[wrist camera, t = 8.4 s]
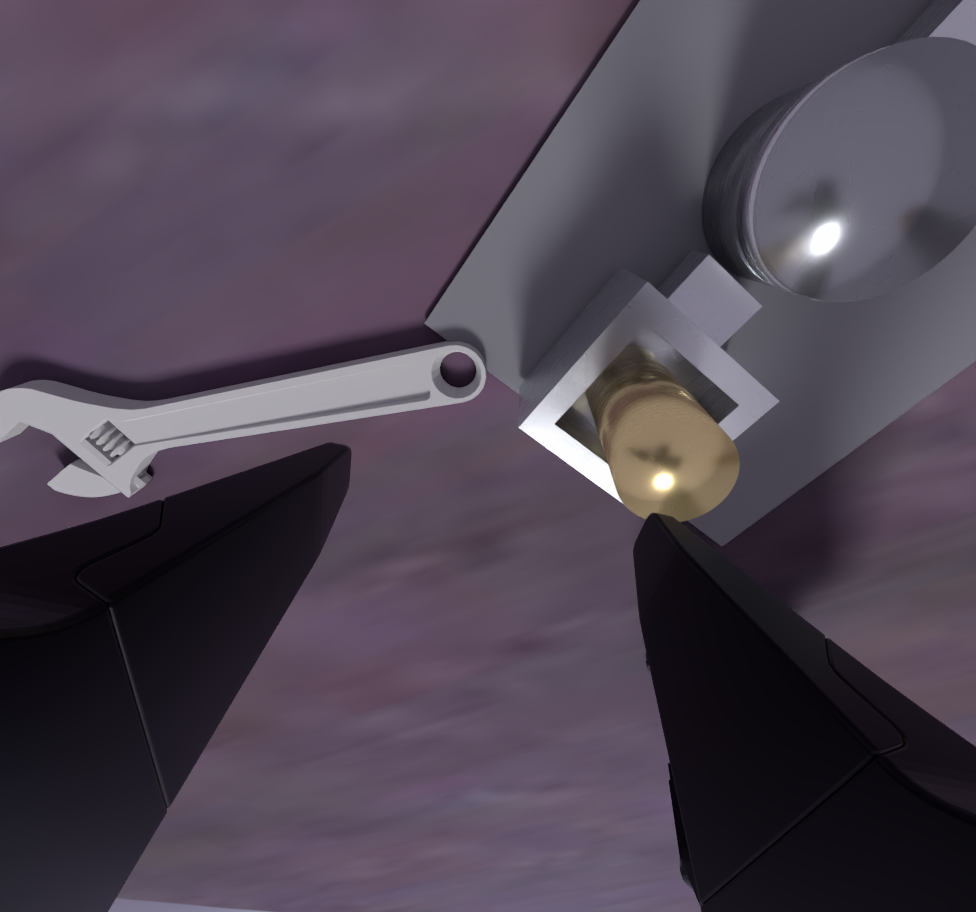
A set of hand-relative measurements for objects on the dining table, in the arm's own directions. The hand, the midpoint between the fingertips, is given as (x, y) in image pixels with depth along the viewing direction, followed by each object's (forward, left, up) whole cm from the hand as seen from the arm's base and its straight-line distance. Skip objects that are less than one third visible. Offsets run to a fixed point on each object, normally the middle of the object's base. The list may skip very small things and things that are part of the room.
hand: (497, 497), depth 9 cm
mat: (-6, -7, -12) cm, 15 cm away
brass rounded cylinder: (-4, -2, -10) cm, 12 cm away
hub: (-4, -10, -12) cm, 17 cm away
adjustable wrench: (+8, +11, -13) cm, 19 cm away
